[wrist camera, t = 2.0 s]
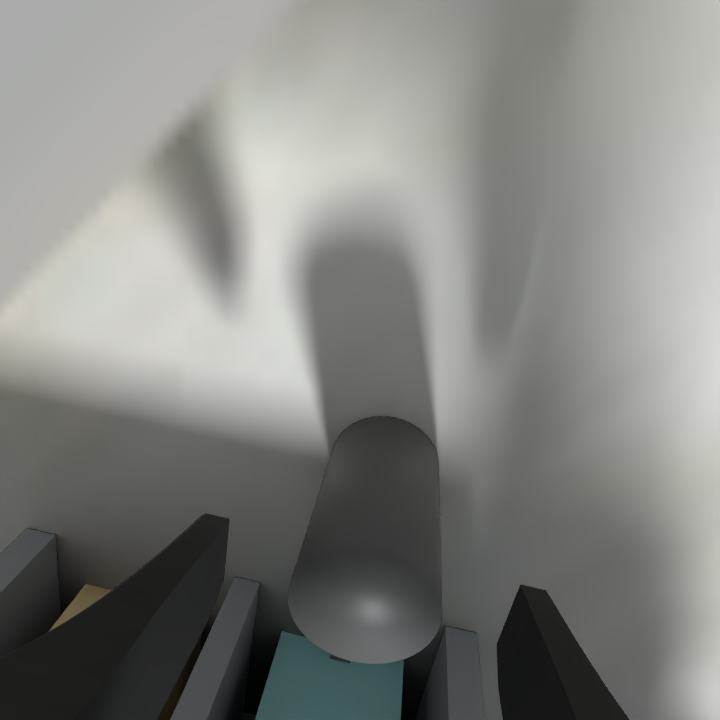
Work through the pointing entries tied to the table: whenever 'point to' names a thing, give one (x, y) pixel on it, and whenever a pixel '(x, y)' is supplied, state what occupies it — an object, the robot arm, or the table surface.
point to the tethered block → (362, 580)
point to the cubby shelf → (215, 641)
